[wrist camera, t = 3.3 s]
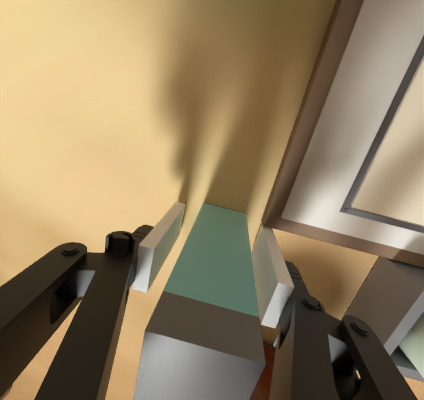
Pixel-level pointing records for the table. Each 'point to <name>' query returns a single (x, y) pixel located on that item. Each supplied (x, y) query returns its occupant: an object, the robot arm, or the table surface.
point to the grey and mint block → (206, 318)
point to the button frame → (392, 307)
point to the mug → (265, 376)
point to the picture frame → (360, 136)
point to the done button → (415, 344)
